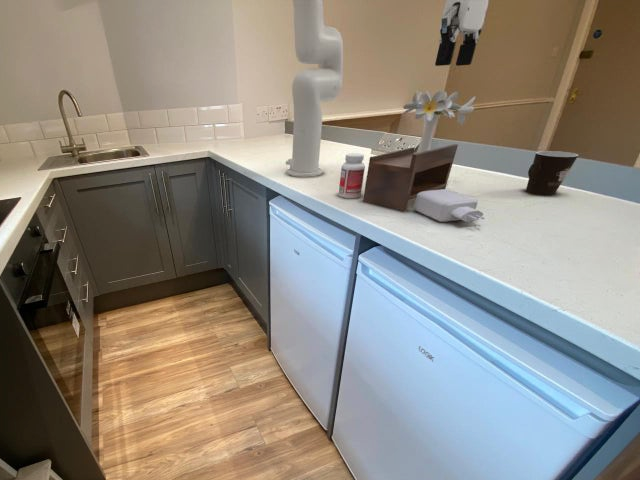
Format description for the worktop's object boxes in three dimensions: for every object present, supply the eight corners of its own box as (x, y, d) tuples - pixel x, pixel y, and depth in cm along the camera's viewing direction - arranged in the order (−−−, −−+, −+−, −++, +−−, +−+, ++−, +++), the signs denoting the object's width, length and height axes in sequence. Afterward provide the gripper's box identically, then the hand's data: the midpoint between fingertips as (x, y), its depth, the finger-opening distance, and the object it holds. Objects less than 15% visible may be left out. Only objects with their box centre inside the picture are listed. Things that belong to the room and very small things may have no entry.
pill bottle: (364, 195, 97) (371, 154, 91) (353, 200, 94) (359, 157, 88) (345, 191, 101) (350, 151, 95) (334, 196, 98) (338, 155, 92)
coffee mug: (546, 188, 97) (563, 150, 91) (567, 196, 90) (587, 156, 84) (502, 188, 98) (516, 151, 93) (520, 197, 91) (536, 157, 85)
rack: (362, 201, 92) (371, 149, 85) (403, 188, 102) (413, 140, 95) (403, 211, 84) (416, 154, 77) (443, 195, 94) (458, 144, 87)
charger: (457, 232, 72) (412, 211, 84) (494, 227, 73) (444, 207, 86) (464, 210, 69) (417, 191, 82) (502, 205, 71) (450, 188, 83)
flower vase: (457, 185, 102) (487, 88, 89) (396, 187, 103) (417, 91, 89) (436, 176, 113) (460, 88, 100) (381, 177, 114) (397, 90, 100)
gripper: (477, -29, 74) (453, 66, 83) (438, -41, 66) (417, 66, 75) (517, -38, 69) (487, 64, 78) (480, -52, 61) (452, 64, 70)
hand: (453, 65), depth 77 cm, fingers open, 9 cm apart
